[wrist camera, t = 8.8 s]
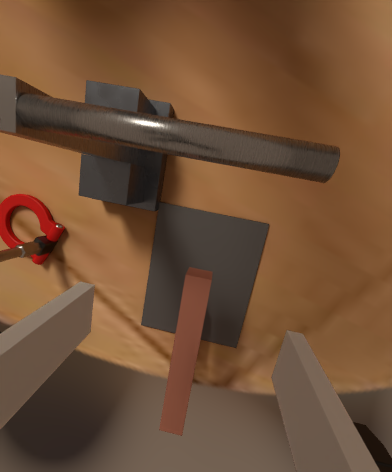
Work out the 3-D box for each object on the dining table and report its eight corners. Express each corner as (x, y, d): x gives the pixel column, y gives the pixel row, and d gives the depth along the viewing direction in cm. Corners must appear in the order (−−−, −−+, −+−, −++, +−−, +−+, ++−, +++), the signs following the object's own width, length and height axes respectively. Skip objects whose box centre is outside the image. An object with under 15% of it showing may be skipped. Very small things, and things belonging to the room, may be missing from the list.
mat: (160, 202, 29) (159, 202, 28) (268, 224, 28) (269, 224, 27) (141, 323, 33) (141, 324, 32) (236, 346, 32) (236, 348, 31)
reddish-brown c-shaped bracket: (185, 274, 20) (159, 430, 23) (211, 280, 20) (181, 435, 23) (196, 251, 30) (176, 363, 32) (214, 254, 29) (193, 367, 32)
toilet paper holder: (109, 98, 27) (-96, -68, 9) (276, 127, 25) (392, -8, 8) (100, 197, 29) (-73, 209, 12) (250, 228, 28) (297, 291, 11)
